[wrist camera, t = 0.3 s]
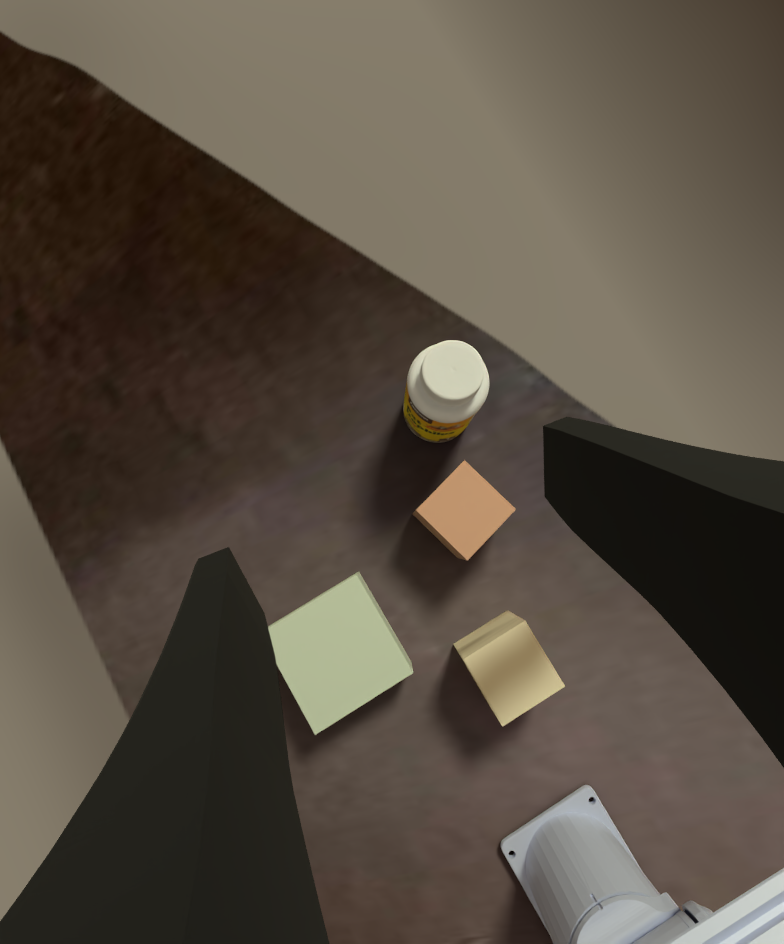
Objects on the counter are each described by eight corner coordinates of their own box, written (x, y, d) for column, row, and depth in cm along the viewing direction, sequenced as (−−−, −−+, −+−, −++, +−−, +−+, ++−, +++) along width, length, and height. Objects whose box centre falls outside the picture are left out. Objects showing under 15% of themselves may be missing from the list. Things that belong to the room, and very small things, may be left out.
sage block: (411, 660, 38) (413, 672, 35) (321, 717, 38) (315, 735, 34) (359, 571, 39) (356, 573, 36) (270, 624, 39) (259, 632, 35)
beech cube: (541, 667, 38) (565, 686, 33) (487, 702, 38) (502, 726, 33) (507, 610, 39) (525, 620, 34) (453, 643, 38) (463, 659, 33)
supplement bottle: (391, 425, 40) (392, 387, 30) (421, 368, 41) (433, 311, 31) (451, 456, 40) (473, 428, 30) (481, 398, 41) (512, 351, 31)
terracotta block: (499, 513, 40) (515, 509, 35) (457, 558, 39) (467, 560, 34) (454, 470, 40) (464, 460, 35) (412, 514, 40) (415, 510, 35)
